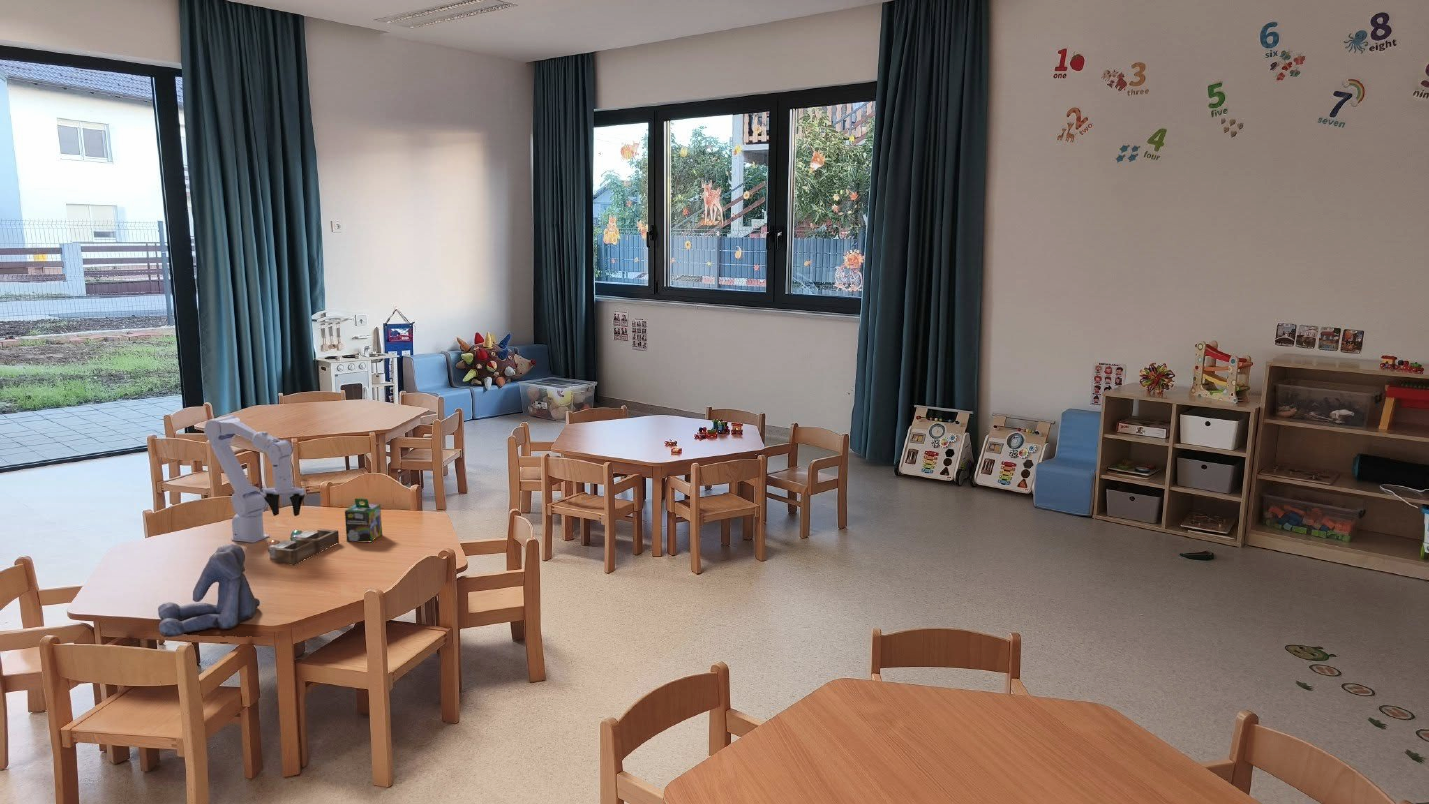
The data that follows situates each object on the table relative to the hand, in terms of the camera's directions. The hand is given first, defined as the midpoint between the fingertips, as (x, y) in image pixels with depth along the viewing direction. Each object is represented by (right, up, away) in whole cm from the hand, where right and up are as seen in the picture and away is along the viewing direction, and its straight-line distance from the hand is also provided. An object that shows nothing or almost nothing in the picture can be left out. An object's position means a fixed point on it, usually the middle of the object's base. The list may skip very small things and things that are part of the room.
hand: (286, 515), depth 315 cm
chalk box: (+23, -10, +10) cm, 27 cm away
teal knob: (+6, -10, 0) cm, 12 cm away
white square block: (+3, -12, -11) cm, 16 cm away
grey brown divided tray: (+11, -12, -6) cm, 17 cm away
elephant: (+7, -22, -61) cm, 65 cm away
